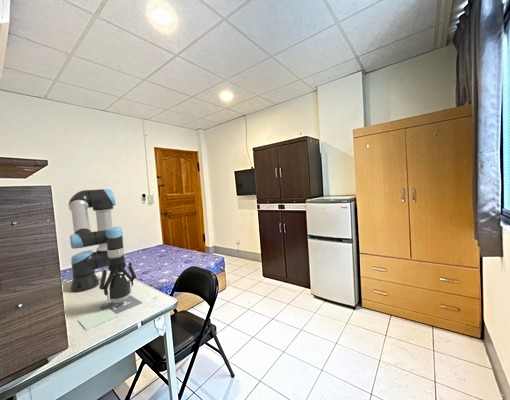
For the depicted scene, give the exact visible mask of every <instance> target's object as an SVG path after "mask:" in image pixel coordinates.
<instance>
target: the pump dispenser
mask: <svg viewBox="0 0 510 400" xmlns="http://www.w3.org/2000/svg"><path fill="white" fill-rule="evenodd" d="M108 288H109V290H110V302H113V303H121V302H124V301H125V300H127V299H128V297H129V295H130V294H131V293H130V286H129V283H128V278H127V277H126V275H125V274H124V273H123V272H121V273H118V274H115V275H114V276H113V278H112V280H111V282H110V284H109V286H108Z"/></svg>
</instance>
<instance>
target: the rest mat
mask: <svg viewBox="0 0 510 400" xmlns="http://www.w3.org/2000/svg"><path fill="white" fill-rule="evenodd" d="M118 317H119V316H118V314H115V313H114V312H113V311H111V310H110V309H109V308H108V309H105V310H100V311H98V312H96V313H93V314H90V315H88V316H85V317H82V318H80V319H78V320H77V321H78V322H79V324H81V326H82V327H83V328H84V329H85V330H86V331H88V330H90V329H92V328H95V327H98V326H99V325H103V324H105V323H106V322H109V321H111V320H113V319H115V318H118Z"/></svg>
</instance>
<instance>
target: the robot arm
mask: <svg viewBox="0 0 510 400" xmlns="http://www.w3.org/2000/svg"><path fill="white" fill-rule="evenodd" d="M116 205H117V204H116V199H115V194H114V192H113V191H112V189H109V188H101V189H99V188H98V189H84V190H80V191H78V192H76V193H75V194H73V195H72V196H71V198H70V199H69V201H68V209H69V210H70V211H71V218H72V225H73V227H72V229H73V233H72V234H71V235H69V241H70V248H71V249H82V248H88V247H93V246H98V247H97V248H96V251H93V249H92V250H85V251H81V252H78V253H76V254H73V255H72V256H71V259H70V260H71V261H70V263H71V270H72V271H71V272H72V281H71V285H70V292H71V293H80V292H87V291H88V290H92V289H93V288H96V287H97V286H99V287H98V289H100V290H103V294H104V295H105V296H106V300H107V301H108V302H111V300H110V290H109V286H110V282H111V280H112V278H113V276H114V275H115V274H118V273H121V274H123V273H124V274H125V275H124V276H125V277H126V279H127V281H128V283H129V286H130V294H133V288H132V287H134V280H135V279H136V278H137V275H136V274H135V271H134V269H133V267H132V262H130V261H128V262H126V261H125V259H126V258H125V248H124V239H123V231H122V230H123V229H122V227H121V226H113V220H112V210H113V209H114V207H115V206H116ZM91 208H92V211H94V212H95V216H96V217H95V218H96V230H94V231H92V230H91V225H90V219H89V218H90V217H89V212H88V209H91ZM107 267H108V268H107ZM126 267H127V269H128V271H129V273H130V274H129V273H128V272H127V271H126V269H125V268H126ZM102 268H104V269H102ZM98 269H102V270H101V273H102V274H101V277H100V278H101V279H100V280H99V278H98V276H97V274H96V273H95V270H98ZM108 272H109V274H108ZM107 274H108V277H107Z"/></svg>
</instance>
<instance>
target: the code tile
mask: <svg viewBox="0 0 510 400" xmlns="http://www.w3.org/2000/svg"><path fill="white" fill-rule="evenodd" d="M141 304H143V301H141V300H139V299H137V298H136V297H134V296H133V295H129V297H128V299H127V300H125V301H124V302H121V303H113V302H112V301H110V302H108V303H106V304H104V305H100V306H98V308H99V309H100V311H103V310H105V309H108V308H109V309H110V310H111V311H113V312H114V313H115V314H116V315H118V314H120V313H123V312H125V311H127V310H129V309H131V308H133V307H136V306H139V305H141Z"/></svg>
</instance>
